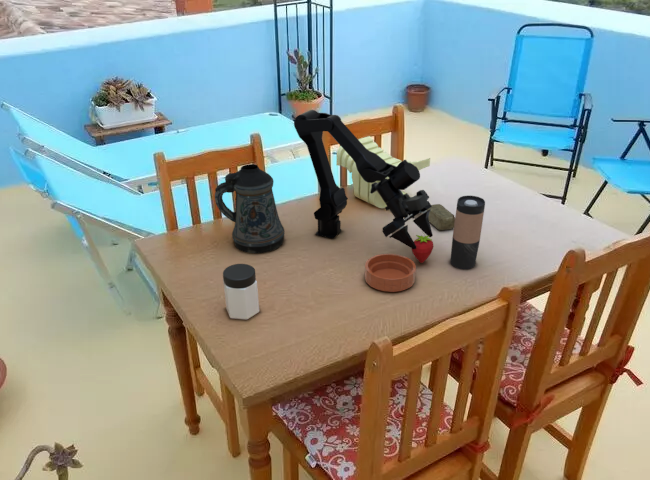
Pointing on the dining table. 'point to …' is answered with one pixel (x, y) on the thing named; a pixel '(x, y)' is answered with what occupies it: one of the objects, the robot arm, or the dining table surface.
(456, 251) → the travel mug
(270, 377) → the dining table surface
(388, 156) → the slatted curved stool
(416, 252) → the strawberry
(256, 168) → the beer stein
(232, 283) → the jar
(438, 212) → the stone block
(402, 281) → the pot
